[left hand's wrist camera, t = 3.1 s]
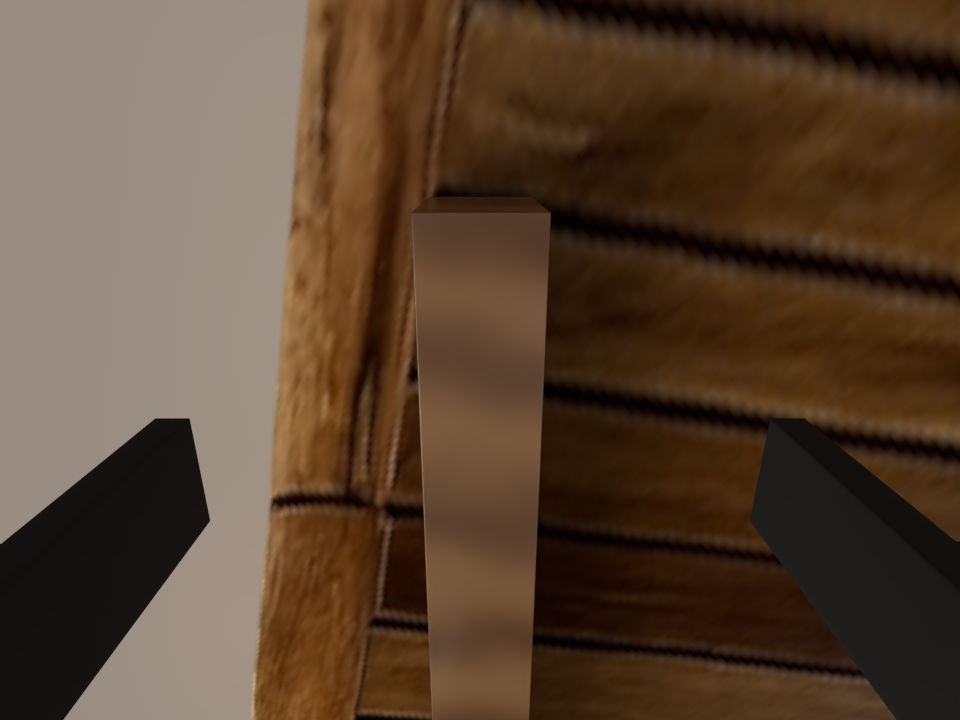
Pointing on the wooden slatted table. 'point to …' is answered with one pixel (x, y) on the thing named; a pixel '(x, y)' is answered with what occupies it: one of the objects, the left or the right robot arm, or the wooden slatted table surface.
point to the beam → (480, 443)
